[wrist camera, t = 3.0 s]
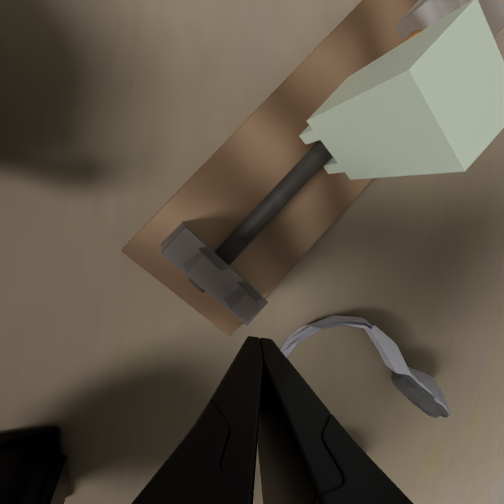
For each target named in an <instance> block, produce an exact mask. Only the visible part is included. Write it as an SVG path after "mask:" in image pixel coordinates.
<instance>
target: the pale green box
mask: <svg viewBox="0 0 504 504" xmlns="http://www.w3.org/2000/svg"><path fill="white" fill-rule="evenodd" d="M307 123H308V124H309V126H308V127H307V128H306V129H305V130H304V131H303V132H302V133H301V134H300V135H299V137H300V138H301V139H302V141H303V142H304V143H305V144H306V145H307V144H310V143H313V142H315V141H318V140H321V141H322V143H323V144H324V145H325V147H326V148H327V149H328V151H329V152H330V153H331V155H332V156H331V157H330V158H329V159H328V160H327V161H326V163H325V164H324V165H323V168H324V169H325V170H326V171H327V173H328V174H334V173H342V172H345V174H346V175H347V176H348V178H349V179H350V180H355V179H369V178H383V177H396V176H410V175H424V174H438V173H452V172H465V171H466V170H467V169H468V168H469V166H470V165H471V164H472V163H473V162H474V161H475V160H476V158H477V157H478V156H479V155H480V154H481V153H482V152H483V151H484V149H485V148H486V147H487V146H488V145H489V144H490V143H491V141H492V140H493V139H494V138H495V137H496V136H497V135H498V134H499V132H500V131H501V130H502V129H503V128H504V61H503V59H502V56H501V54H500V52H499V49H498V47H497V44H496V42H495V40H494V37H493V35H492V33H491V30H490V28H489V25H488V23H487V21H486V18H485V16H484V13H483V11H482V9H481V6H480V4H479V1H478V0H471V1H469V2H468V3H466V4H464V5H463V6H461V7H460V8H458V9H456V10H455V11H453V12H452V13H450V14H448V15H447V16H445V17H444V18H442V19H440V20H439V21H437V22H436V23H434V24H432V25H431V26H429V27H428V28H426V29H424V30H423V31H421V32H420V33H418V34H416V35H415V36H413V37H411V38H410V39H408V40H407V41H405V42H403V43H402V44H400V45H399V46H397V47H395V48H394V49H392V50H391V51H389V52H387V53H386V54H384V55H383V56H381V57H379V58H378V59H376V60H375V61H373V62H371V63H370V64H368V65H367V66H365V67H363V68H362V69H360V70H359V71H357V72H355V73H354V74H352V75H351V76H349V77H348V78H347V79H346V80H345V81H344V82H343V83H342V84H341V85H340V86H339V87H338V88H337V89H336V90H335V91H334V92H333V93H332V94H331V96H330V97H329V98H328V99H327V100H326V101H325V102H324V103H323V104H322V105H321V106H320V107H319V108H318V109H317V110H316V111H315V112H314V113H313V115H312V116H311V117H310V118H309V119H308V120H307Z"/></svg>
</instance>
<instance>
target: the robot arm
mask: <svg viewBox="0 0 504 504" xmlns="http://www.w3.org/2000/svg"><path fill="white" fill-rule="evenodd" d="M330 414H331V413H330V411H329V410H328V409H327V408H326V406H325V405H324V404H323V403H322V401H321V400H320V399H319V398H318V396H317V395H316V394H315V393H314V391H313V390H312V389H311V388H310V387H309V385H308V384H307V383H306V382H305V380H304V379H303V378H302V377H301V375H300V374H299V373H298V372H297V370H296V369H295V368H294V367H293V365H292V364H291V363H290V362H289V360H288V359H287V358H286V357H285V355H284V354H283V353H282V352H281V350H280V349H279V348H278V347H277V345H276V344H275V343H274V342H273V340H271V339H267V338H260V339H259V338H258V337H251V336H248V337H247V339H246V340H245V342H244V344H243V345H242V347H241V349H240V350H239V352H238V354H237V356H236V357H235V359H234V361H233V362H232V364H231V366H230V367H229V369H228V371H227V372H226V374H225V376H224V377H223V379H222V381H221V382H220V384H219V386H218V388H217V389H216V391H215V393H214V394H213V396H212V398H211V399H210V401H209V402H208V404H207V405H206V407H205V409H204V411H203V412H202V414H201V415H200V417H199V418H198V420H197V421H196V423H195V424H194V426H193V427H192V428H191V430H190V431H189V432H188V434H187V435H186V436H185V438H184V439H183V440H182V442H181V443H180V444H179V445H178V447H177V448H176V449H175V450H174V452H173V453H172V454H171V455H170V456H169V458H168V459H167V460H166V461H165V463H164V464H163V465H162V466H161V468H160V469H159V470H158V471H157V473H156V474H155V475H154V476H153V478H152V479H151V480H150V481H149V482H148V484H147V485H146V486H145V487H144V489H143V490H142V491H141V492H140V494H139V495H138V496H137V497H136V499H135V500H134V501H133V502H132V504H253V495H254V493H253V491H254V481H255V467H256V454H257V442H258V453H259V463H260V474H261V484H262V495H263V504H413V503H412V502H411V501H410V500H409V499H408V498H407V496H406V495H405V494H404V493H403V492H402V491H401V490H400V489H399V488H398V487H397V486H396V485H395V484H394V483H393V482H392V481H391V480H390V479H389V478H388V476H387V475H386V474H385V473H384V472H383V471H382V470H381V469H380V468H379V467H378V466H377V465H376V464H375V463H374V462H373V461H372V460H371V459H370V457H369V456H368V455H367V454H366V453H365V452H364V451H363V450H362V449H361V448H360V447H359V445H358V444H357V443H356V442H355V441H354V440H353V439H352V438H351V436H350V435H349V434H348V433H347V432H346V430H345V429H344V428H343V427H342V426H341V425H340V423H339V422H338V421H337V420H336V418H335V417H334V416H333V415H332V414H331V415H330ZM50 434H53V435H54V436H50ZM68 488H69V471H68V458H67V456H66V455H65V454H63V452H62V439H61V431H60V429H59V428H57V427H48V428H42V429H36V430H30V431H23V432H17V433H11V434H5V435H0V504H64V501H65V498H66V494H67V491H68Z"/></svg>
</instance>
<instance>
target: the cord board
mask: <svg viewBox="0 0 504 504" xmlns="http://www.w3.org/2000/svg"><path fill="white" fill-rule="evenodd" d="M469 1H471V0H362V1H361V2H360V3H359V4H358V6H357V7H356V8H355V9H354V10H353V11H352V12H351V13H350V14H349V15H348V16H347V17H346V18H345V19H344V20H343V21H342V22H341V23H340V24H339V25H338V26H337V27H336V28H335V29H334V30H333V31H332V32H331V33H330V34H329V36H328V37H327V38H326V39H325V40H324V41H323V42H322V43H321V44H320V45H319V46H318V47H317V48H316V49H315V50H314V51H313V52H312V53H311V54H310V55H309V56H308V57H307V58H306V59H305V60H304V61H303V62H302V63H301V64H300V65H299V67H298V68H297V69H296V70H295V71H294V72H293V73H292V74H291V75H290V76H289V77H288V78H287V79H286V80H285V81H284V82H283V83H282V84H281V85H280V86H279V87H278V88H277V89H276V90H275V91H274V92H273V93H272V94H271V95H270V97H269V98H268V99H267V100H266V101H265V102H264V103H263V104H262V105H261V106H260V107H259V108H258V109H257V110H256V111H255V112H254V113H253V114H252V115H251V116H250V117H249V118H248V119H247V120H246V121H245V122H244V123H243V124H242V125H241V127H240V128H239V129H238V130H237V131H236V132H235V133H234V134H233V135H232V136H231V137H230V138H229V139H228V140H227V141H226V142H225V143H224V144H223V145H222V146H221V147H220V148H219V149H218V150H217V151H216V152H215V153H214V154H213V155H212V156H211V158H210V159H209V160H208V161H207V162H206V163H205V164H204V165H203V166H202V167H201V168H200V169H199V170H198V171H197V172H196V173H195V174H194V175H193V176H192V177H191V178H190V179H189V180H188V181H187V182H186V183H185V184H184V185H183V186H182V188H181V189H180V190H179V191H178V192H177V193H176V194H175V195H174V196H173V197H172V198H171V199H170V200H169V201H168V202H167V203H166V204H165V205H164V206H163V207H162V208H161V209H160V210H159V211H158V212H157V213H156V214H155V215H154V216H153V217H152V219H151V220H150V221H149V222H148V223H147V224H146V225H145V226H144V227H143V228H142V229H141V230H140V231H139V232H138V233H137V234H136V235H135V236H134V237H133V238H132V239H131V240H130V241H129V242H128V243H127V244H126V245H125V246H124V247H123V249H122V250H121V251H122V252H123V253H124V254H126V255H127V256H128V257H130V258H131V259H132V260H133V261H135V262H136V263H137V264H138V265H140V266H141V267H142V268H144V269H145V270H146V271H147V272H149V273H150V274H151V275H152V276H154V277H155V278H156V279H157V280H159V281H160V282H161V283H163V284H164V285H165V286H166V287H168V288H169V289H170V290H171V291H173V292H174V293H175V294H176V295H178V296H179V297H180V298H182V299H183V300H184V301H185V302H187V303H188V304H189V305H190V306H192V307H193V308H194V309H196V310H197V311H198V312H199V313H201V314H202V315H203V316H204V317H206V318H207V319H208V320H209V321H211V322H212V323H213V324H215V325H216V326H217V327H218V328H220V329H221V330H222V331H223V332H225V333H226V334H227V335H228V336H231V335H232V333H233V332H234V331H235V330H236V329H237V328H238V327H239V326H240V325H241V324H242V322H243V323H244V324H246V325H248V324H249V323H250V322H251V321H252V319H253V318H254V317H255V316H256V315H257V314H258V313H259V312H260V311H261V309H262V308H263V307H264V306H265V305H266V304H267V303H268V302H267V301H266V300H265V297H266V296H267V295H268V294H269V293H270V292H271V291H272V289H273V288H274V287H275V286H276V285H277V284H278V283H279V282H280V281H281V280H282V278H283V277H284V276H285V275H286V274H287V273H288V272H289V271H290V270H291V269H292V267H293V266H294V265H295V264H296V263H297V262H298V261H299V260H300V259H301V258H302V256H303V255H304V254H305V253H306V252H307V251H308V250H309V249H310V248H311V247H312V245H313V244H314V243H315V242H316V241H317V240H318V239H319V238H320V237H321V236H322V234H323V233H324V232H325V231H326V230H327V229H328V228H329V227H330V226H331V225H332V223H333V222H334V221H335V220H336V219H337V218H338V217H339V216H340V215H341V214H342V212H343V211H344V210H345V209H346V208H347V207H348V206H349V205H350V204H351V203H352V201H353V200H354V199H355V198H356V197H357V196H358V195H359V194H360V193H361V192H362V190H363V189H364V188H365V187H366V186H367V185H368V184H369V183H370V182H371V181H372V179H373V178H369V179H355V180H350V179H349V178H348V176H347V175H346V174H345V172H342V173H334V174H328V173H327V171H326V170H325V169H324V168H323V165H324V164H325V163H326V161H327V160H328V159H329V158H330V157H331V156H332V155H331V153H330V152H329V151H328V149H327V148H326V147H325V145H324V144H323V143H322V141H321V140H318V141H315V142H313V143H310V144H307V145H306V144H305V143H304V142H303V141H302V139H301V138H300V137H299V135H300V134H301V133H302V132H303V131H304V130H305V129H306V128H307V127H308V126H309V124H308V123H307V120H308V119H309V118H310V117H311V116H312V115H313V113H314V112H315V111H316V110H317V109H318V108H319V107H320V106H321V105H322V104H323V103H324V102H325V101H326V100H327V99H328V98H329V97H330V96H331V94H332V93H333V92H334V91H335V90H336V89H337V88H338V87H339V86H340V85H341V84H342V83H343V82H344V81H345V80H346V79H347V78H348V77H349V76H351V75H352V74H354V73H355V72H357V71H359V70H360V69H362V68H363V67H365V66H367V65H368V64H370V63H371V62H373V61H375V60H376V59H378V58H379V57H381V56H383V55H384V54H386V53H387V52H389V51H391V50H392V49H394V48H395V47H397V46H399V45H400V44H402V43H403V42H405V41H407V40H408V39H410V38H411V37H413V36H415V35H416V34H418V33H420V32H421V31H423V30H424V29H426V28H428V27H429V26H431V25H432V24H434V23H436V22H437V21H439V20H440V19H442V18H444V17H445V16H447V15H448V14H450V13H452V12H453V11H455V10H456V9H458V8H460V7H461V6H463V5H464V4H466V3H468V2H469ZM478 1H479V4H480V6H481V9H482V11H483V13H484V16H485V18H486V21H487V23H488V25H489V28H490V30H491V33H492V35H493V37H495V35H496V34H497V33H498V32H499V31H500V30H501V29H502V28H503V27H504V4H503V1H502V0H478Z"/></svg>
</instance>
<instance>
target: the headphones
mask: <svg viewBox="0 0 504 504" xmlns="http://www.w3.org/2000/svg"><path fill="white" fill-rule="evenodd" d="M344 324H345V325H350V326H355V327H360V328H364V329H365V331H366V332H367V334H368V335H369V337H370V338H371V340H372V341H373V343H374V345H375V346H376V348H377V349H378V351H379V353H380V355H381V357H382V359H383V361H384V363H385V365H386V366H387V367H389V368H390V369H391V371H392V372H393V376H392V382H393V383H394V385H395V386H396V387H397V389H398V390H399V391H401V392H402V393H403V394H404V395H405V396H406V397H407V398H408V399H409V400H410V401H411V402H412V403H413V404H414V405H416V406H417V407H418V408H420V409H421V410H422V411H424V412H425V413H426V414H427V415H429V416H432V417H435V418H437V417H439V416H443V417H448V416H449V415H450V411H449V408H448V405H447V402H446V399H445V397H444V395H443V393H442V391H441V389H440V388H439V386H438V385H437V383H436V382H435V380H434V379H433V378H432V376H430V375H428V374H426V373H424V372H422V371H419V370H416V369H413V368H410V367H407V365H406V363H405V361H404V359H403V357H402V354H401V352H400V350H399V348H398V346H397V344H396V343H394V341H393V340H391V339H390V338H389V337H388V336H387V335H386V334H384V333H383V332H382V331H381V330H380V329H379V328H377V327H376V326H375V325H374V324H372V323H370V322H369V321H367V320H366V319H363V318H361V317H351V316H338V315H332V316H330V317H327V318H324V319H322V320H319V321H317V322H314V323H311V324H308V325H305V326H302V327H301V328H300V329H298V330H297V331H296V332H295V333H293V334H292V335H291V336H290V337H288V339H287V340H286V341H285V343H284V344H283V345H282V347H281V348H280V350H281V352H282V353H283V354H284V355H285V357H286V358H287V357H288V355H289V354H290V353H291V351H292V350H293V349H294V348H295V346H296V345H297V344H298V343H299V342H301V341H302V340H304V339H306V338H307V337H309V336H311V335H312V334H314V333H316V332H318V331H319V330H321V329H325V328H330V327H334V326H339V325H344Z"/></svg>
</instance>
